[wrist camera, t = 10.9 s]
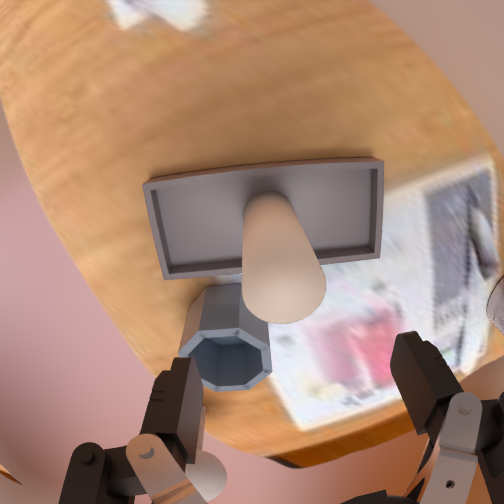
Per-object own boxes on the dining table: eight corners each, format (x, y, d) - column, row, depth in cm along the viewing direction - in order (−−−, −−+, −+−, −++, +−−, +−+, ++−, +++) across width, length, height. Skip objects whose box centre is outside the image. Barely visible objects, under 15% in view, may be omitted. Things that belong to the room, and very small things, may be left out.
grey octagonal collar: (263, 280, 31) (268, 325, 24) (269, 341, 34) (273, 387, 28) (184, 288, 31) (171, 332, 25) (199, 346, 34) (192, 392, 28)
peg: (292, 189, 26) (326, 247, 15) (294, 236, 28) (325, 318, 17) (240, 193, 26) (236, 256, 15) (246, 241, 28) (246, 327, 17)
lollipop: (171, 393, 38) (154, 488, 25) (221, 389, 38) (216, 491, 24) (188, 421, 41) (177, 507, 28) (233, 418, 41) (232, 508, 27)
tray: (372, 156, 26) (383, 161, 23) (370, 246, 29) (379, 258, 27) (150, 178, 26) (142, 184, 24) (169, 267, 30) (164, 280, 28)
